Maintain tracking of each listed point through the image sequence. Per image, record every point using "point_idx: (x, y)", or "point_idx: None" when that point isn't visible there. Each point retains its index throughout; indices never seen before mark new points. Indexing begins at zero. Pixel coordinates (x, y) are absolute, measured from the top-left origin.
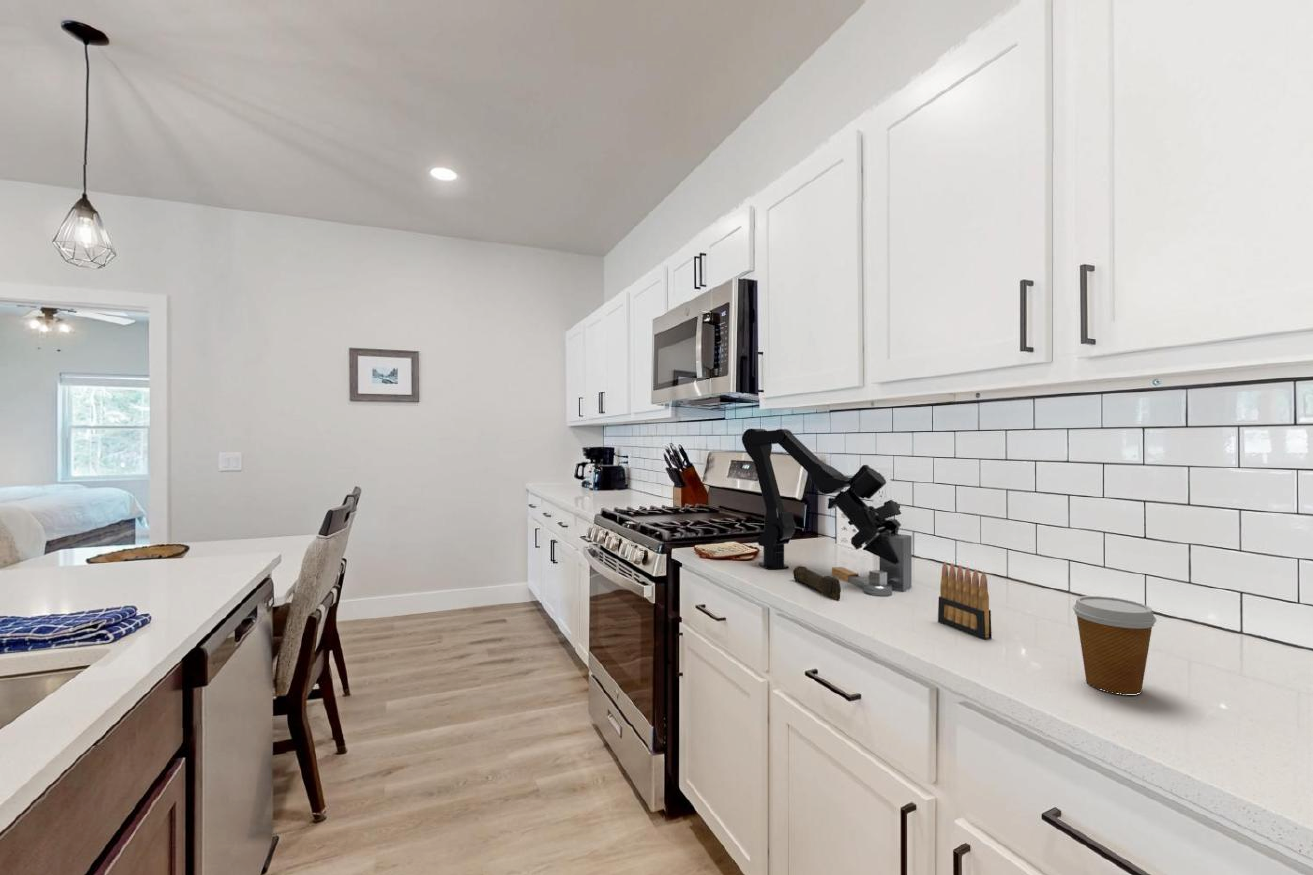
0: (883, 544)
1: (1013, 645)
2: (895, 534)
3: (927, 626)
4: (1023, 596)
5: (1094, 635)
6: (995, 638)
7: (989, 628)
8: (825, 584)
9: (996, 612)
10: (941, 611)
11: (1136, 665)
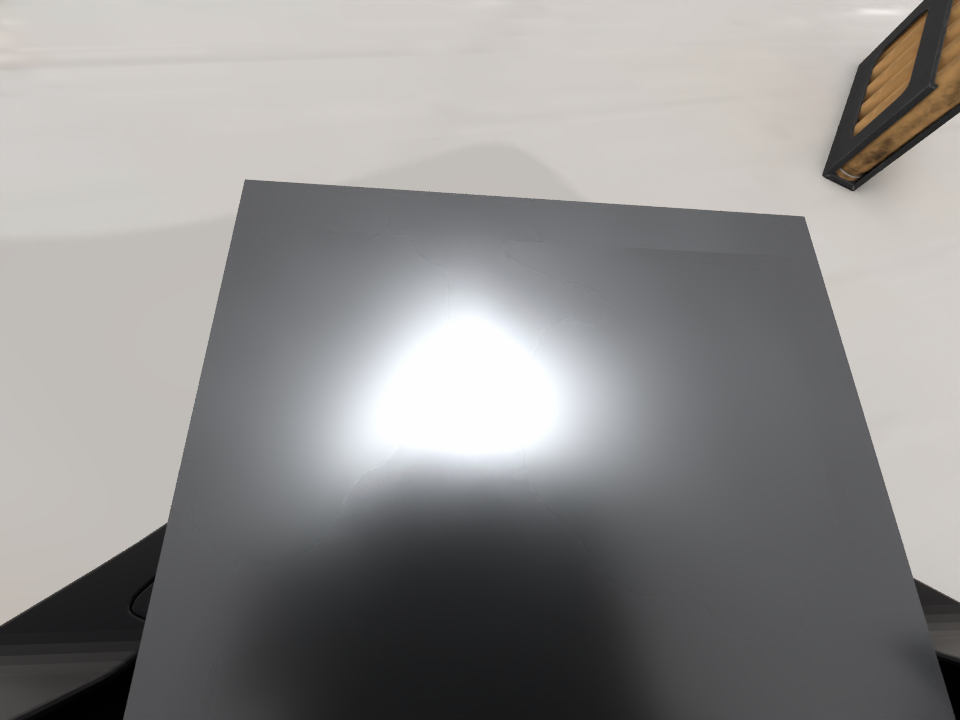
0: (930, 593)
1: (860, 26)
2: (317, 598)
3: (926, 206)
4: (253, 15)
5: None
6: (848, 57)
7: (889, 38)
8: None
9: (578, 70)
10: (904, 145)
11: None
